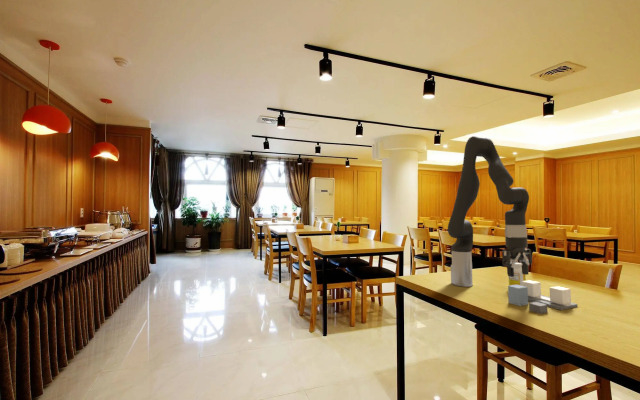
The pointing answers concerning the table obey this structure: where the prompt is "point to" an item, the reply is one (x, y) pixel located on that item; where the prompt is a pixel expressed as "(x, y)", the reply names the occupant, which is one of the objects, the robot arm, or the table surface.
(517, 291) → the block
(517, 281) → the supplement bottle
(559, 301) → the din rail
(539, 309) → the dark grey block
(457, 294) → the table surface
